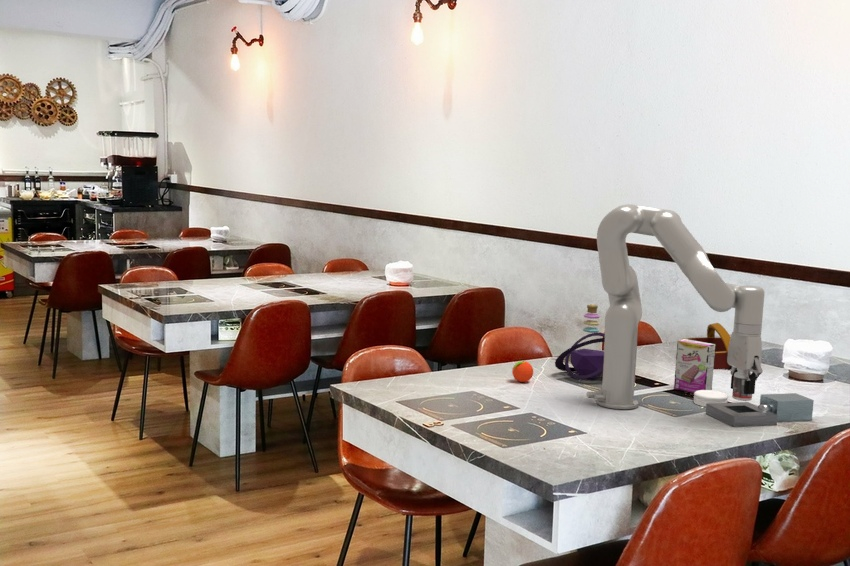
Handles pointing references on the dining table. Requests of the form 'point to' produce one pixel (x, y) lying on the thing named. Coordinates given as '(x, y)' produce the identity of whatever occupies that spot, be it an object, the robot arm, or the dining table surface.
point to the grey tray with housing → (763, 410)
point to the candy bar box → (694, 365)
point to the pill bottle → (740, 386)
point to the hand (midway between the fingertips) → (742, 390)
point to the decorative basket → (717, 344)
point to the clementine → (522, 371)
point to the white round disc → (709, 397)
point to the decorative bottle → (584, 352)
